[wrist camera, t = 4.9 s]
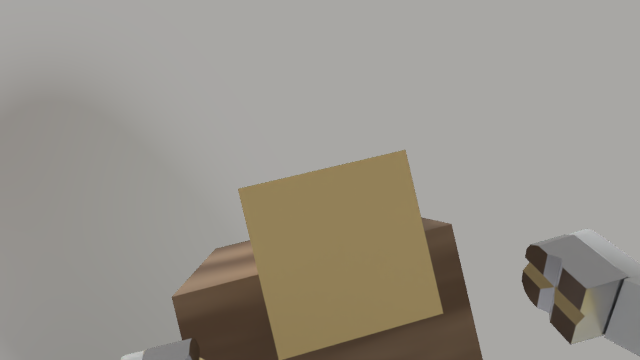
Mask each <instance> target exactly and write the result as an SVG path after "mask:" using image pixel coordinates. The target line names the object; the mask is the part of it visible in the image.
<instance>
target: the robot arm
mask: <svg viewBox="0 0 640 360" xmlns="http://www.w3.org/2000/svg"><path fill="white" fill-rule="evenodd" d="M525 257H526V258H527V260H528V261H529V264H528V265H527V266H526V267H525V269H524V270H523V275H522V283H523V286H524V290H525V292H526V294H527V296H528V297H529V299H530V300H531V301H532V302H533V304H534V305H535V306H536V307H537V308H539V309H542V310H544V311H546V312H548V313H549V316H550V323H552V325H553V326H554V327H555V328H556V329H557V330H558V331H559V332H560V333H561V334H562V336H563V337H564V338H565V339H566V340H567V341H568V342H569V343H570V344H575V343H578V342H582V341H585V340H589V339H593V338H596V337H599V336H604V335H605V338H606V339H608V340H610V341H612V342H614V343H616V344H618V345H619V346H621V347H623V348H625V349H627V350H629V351H631V352H632V353H634V354H636V355H638V356H640V264H639V263H638V262H637V261H635V260H634V259H633V258H631V257H630V256H628V255H627V254H626V253H624V252H623V251H622V250H620V249H619V248H617V247H616V246H615V245H613V244H612V243H610V242H609V241H608V240H606V239H605V238H604V237H602V236H601V235H599V234H598V233H597V232H595V231H593V230H590V229H584V230H581V231H577V232H574V233H570V234H568V235H563V236H559V237H556V238H552V239H548V240H545V241H541V242H538V243H534V244H531V245H530V246H529V247H528V248H527V250H526V255H525ZM121 360H204V359H202V358H200V347H199V345H198V343H197V341H196V339H195V338H191V339H186V340H182V341H179V342H174V343H170V344H167V345H162V346H158V347H154V348H150V349H147V350H143V351H140V352H136V353H132V354H128V355H124V356H123V357H122V358H121Z"/></svg>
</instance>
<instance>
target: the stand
mask: <svg viewBox="0 0 640 360" xmlns="http://www.w3.org/2000/svg"><path fill="white" fill-rule="evenodd" d="M421 219H422V224H423V228H424V232H425V236H426V241H427V245H428V249H429V254H430V258H431V262H432V267H433V271H434V275H435V280H436V284H437V288H438V293H439V297H440V301H441V306H442V310H443V314H440V315H436V316H433V317H429V318H426V319H422V320H419V321H415V322H412V323H408V324H405V325H401V326H398V327H394V328H391V329H387V330H384V331H381V332H377V333H374V334H370V335H367V336H363V337H360V338H356V339H353V340H349V341H346V342H342V343H339V344H335V345H332V346H328V347H325V348H321V349H318V350H315V351H311V352H308V353H304V354H301V355H297V356H294V357H290V358H287V359H283V360H483V359H482V355H481V351H480V346H479V342H478V337H477V333H476V329H475V325H474V320H473V316H472V311H471V307H470V303H469V298H468V294H467V289H466V285H465V281H464V277H463V272H462V268H461V263H460V259H459V255H458V251H457V246H456V242H455V237H454V233H453V229H452V225H451V224H449V223H444V222H439V221H435V220H430V219H426V218H422V217H421ZM172 300H173V304H174V308H175V312H176V317H177V321H178V325H179V329H180V333H181V337H182V340H186V339H191V338H195V339H196V341H197V343H198V345H199V347H200V358H202V359H204V360H279V359H278V354H277V350H276V346H275V342H274V338H273V333H272V329H271V325H270V321H269V317H268V313H267V308H266V304H265V300H264V296H263V292H262V287H261V283H260V279H259V275H258V271H257V266H256V262H255V258H254V254H253V250H252V245H251V241H250V240H249V241H245V242H241V243H237V244H233V245H229V246H225V247H221V248H217V249H215V250H214V251H213V252H212V253H211V254H210V255H209V257H208V258H207V259H206V260H205V261H204V262H203V263H202V265H200V267H199V268H198V269H197V270H196V271H195V272H194V273H193V274H192V275H191V277H189V279H188V280H187V281H186V282H185V283H184V284H183V285H182V286H181V287H180V289H179V290H178V291H177V292H176V293H175V294H174V295H173V296H172Z"/></svg>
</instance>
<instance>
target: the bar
mask: <svg viewBox="0 0 640 360" xmlns="http://www.w3.org/2000/svg"><path fill="white" fill-rule="evenodd" d="M238 191H239V195H240V199H241V203H242V207H243V212H244V216H245V220H246V224H247V229H248V233H249V237H250V241H251V245H252V250H253V254H254V258H255V262H256V266H257V271H258V275H259V279H260V283H261V287H262V292H263V296H264V300H265V304H266V308H267V313H268V317H269V321H270V325H271V329H272V333H273V338H274V342H275V346H276V350H277V354H278V359H279V360H283V359H287V358H290V357H294V356H297V355H301V354H304V353H308V352H311V351H315V350H318V349H321V348H325V347H328V346H332V345H335V344H339V343H342V342H346V341H349V340H353V339H356V338H360V337H363V336H367V335H370V334H374V333H377V332H381V331H384V330H387V329H391V328H394V327H398V326H401V325H405V324H408V323H412V322H415V321H419V320H422V319H426V318H429V317H433V316H436V315H440V314H443V310H442V306H441V301H440V297H439V293H438V288H437V284H436V280H435V275H434V271H433V267H432V262H431V258H430V254H429V249H428V245H427V241H426V236H425V232H424V228H423V224H422V219H421V215H420V211H419V207H418V202H417V198H416V193H415V189H414V185H413V181H412V176H411V172H410V167H409V163H408V159H407V155H406V150H402V151H398V152H394V153H390V154H386V155H381V156H377V157H372V158H368V159H364V160H360V161H355V162H351V163H347V164H342V165H338V166H334V167H330V168H325V169H321V170H317V171H312V172H308V173H305V174H300V175H295V176H291V177H287V178H283V179H278V180H274V181H270V182H265V183H261V184H257V185H253V186H248V187H244V188H240V189H238Z"/></svg>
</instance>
